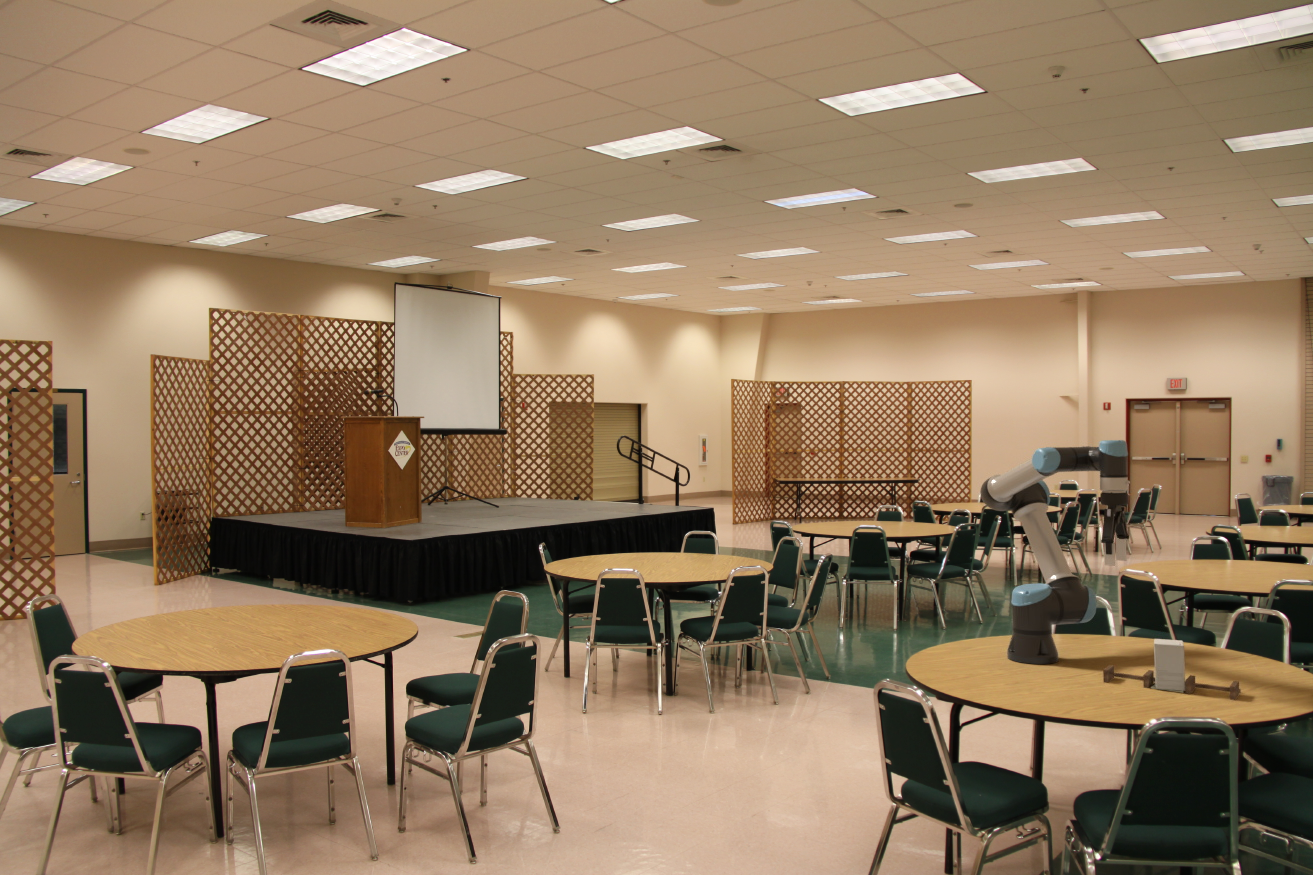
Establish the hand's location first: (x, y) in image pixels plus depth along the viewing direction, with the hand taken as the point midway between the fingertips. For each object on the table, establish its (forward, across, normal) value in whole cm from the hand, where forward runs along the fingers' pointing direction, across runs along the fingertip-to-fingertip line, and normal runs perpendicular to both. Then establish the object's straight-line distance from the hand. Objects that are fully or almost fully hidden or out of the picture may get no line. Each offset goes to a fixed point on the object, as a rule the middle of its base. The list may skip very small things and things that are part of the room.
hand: (1115, 563), depth 277 cm
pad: (+33, -10, -15) cm, 38 cm away
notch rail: (+33, -9, -15) cm, 37 cm away
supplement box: (+33, -10, -16) cm, 37 cm away
